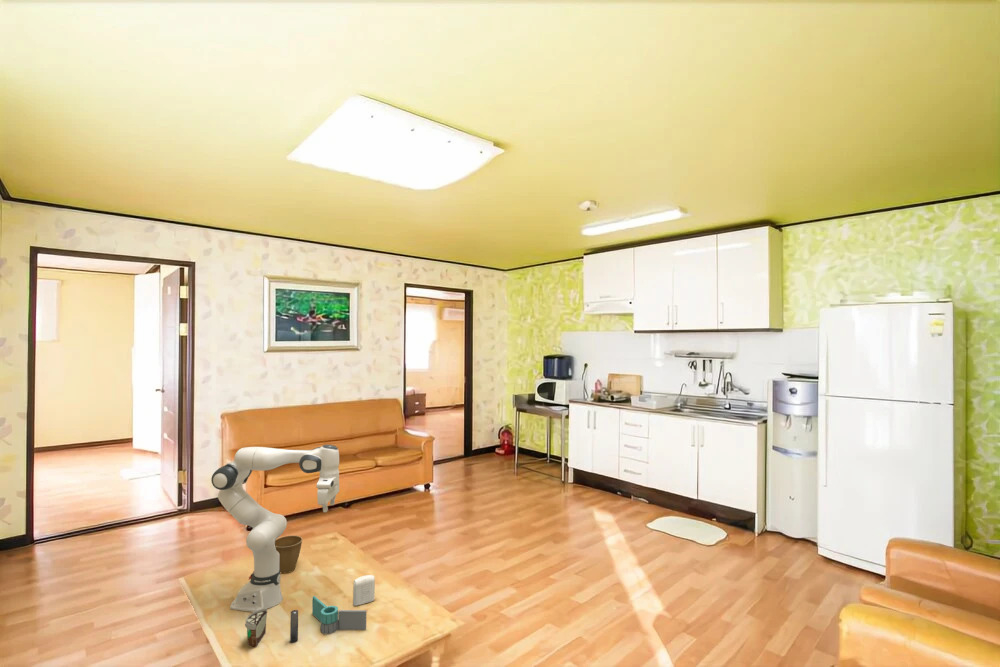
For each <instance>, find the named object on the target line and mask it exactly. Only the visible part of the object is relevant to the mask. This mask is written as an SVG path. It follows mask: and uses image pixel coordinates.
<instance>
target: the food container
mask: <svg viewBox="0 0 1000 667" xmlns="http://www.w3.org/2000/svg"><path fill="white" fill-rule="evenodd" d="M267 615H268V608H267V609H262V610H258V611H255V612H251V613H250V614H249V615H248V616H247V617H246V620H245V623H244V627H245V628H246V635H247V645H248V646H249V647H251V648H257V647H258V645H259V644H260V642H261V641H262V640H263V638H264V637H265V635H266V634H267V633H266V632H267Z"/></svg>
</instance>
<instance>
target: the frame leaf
mask: <svg viewBox="0 0 1000 667" xmlns="http://www.w3.org/2000/svg"><path fill="white" fill-rule="evenodd" d="M366 630H367V610H366V609H365V610H364V609H353V610H351V609H338V620H337V621H336V622H334V623H331V624H323V623H322V622H320V633H321V634H323V635H331V634H333V633H336V631H366Z"/></svg>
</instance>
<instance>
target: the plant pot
mask: <svg viewBox="0 0 1000 667" xmlns="http://www.w3.org/2000/svg"><path fill="white" fill-rule="evenodd" d="M302 544H303V537H301V536H299V535H285V536H280V537H278V538H277V539H276V541H275V548H276V551H278V552H279V554H280V565H279V568H280V574H288V573H291V572H293V571H294V570H295V568H296V566H297V563H298V560H299V557H300V554H301V553H300V552H301V551H302V550H301V549H302Z"/></svg>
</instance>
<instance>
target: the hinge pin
mask: <svg viewBox="0 0 1000 667" xmlns="http://www.w3.org/2000/svg"><path fill="white" fill-rule="evenodd" d="M289 622H290V629H289V630H290V632H289V634H290V635H289V636H290V637H289V639H290V640H289V642H290V643H292V644H293V643H296V642H298V640H299V610H298V609H293V610H292V611H290V620H289Z"/></svg>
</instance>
